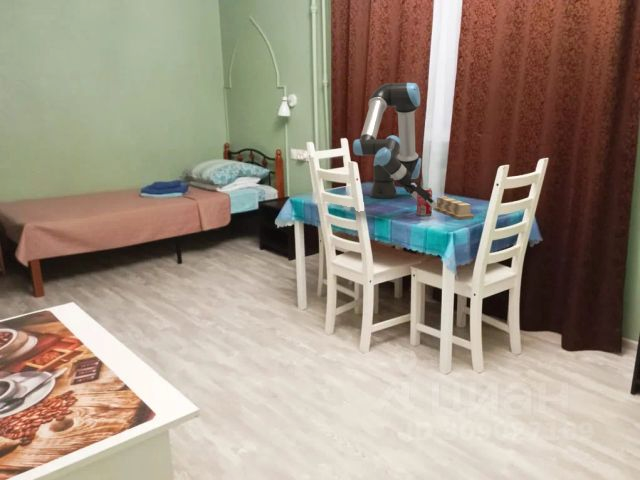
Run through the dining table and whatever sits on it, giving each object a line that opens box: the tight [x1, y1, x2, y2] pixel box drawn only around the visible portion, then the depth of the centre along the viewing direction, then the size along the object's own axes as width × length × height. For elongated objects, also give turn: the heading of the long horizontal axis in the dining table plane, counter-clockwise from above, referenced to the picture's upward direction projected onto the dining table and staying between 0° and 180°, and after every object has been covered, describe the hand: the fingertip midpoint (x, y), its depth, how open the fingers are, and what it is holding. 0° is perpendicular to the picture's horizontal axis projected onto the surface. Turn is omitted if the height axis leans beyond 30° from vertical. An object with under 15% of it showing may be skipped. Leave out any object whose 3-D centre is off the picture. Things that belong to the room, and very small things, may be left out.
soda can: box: [416, 187, 433, 217], centre depth 249 cm, size 7×7×13 cm
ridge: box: [432, 195, 475, 221], centre depth 251 cm, size 24×8×6 cm, turn 18°
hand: (428, 203), depth 249 cm, fingers open, 13 cm apart
